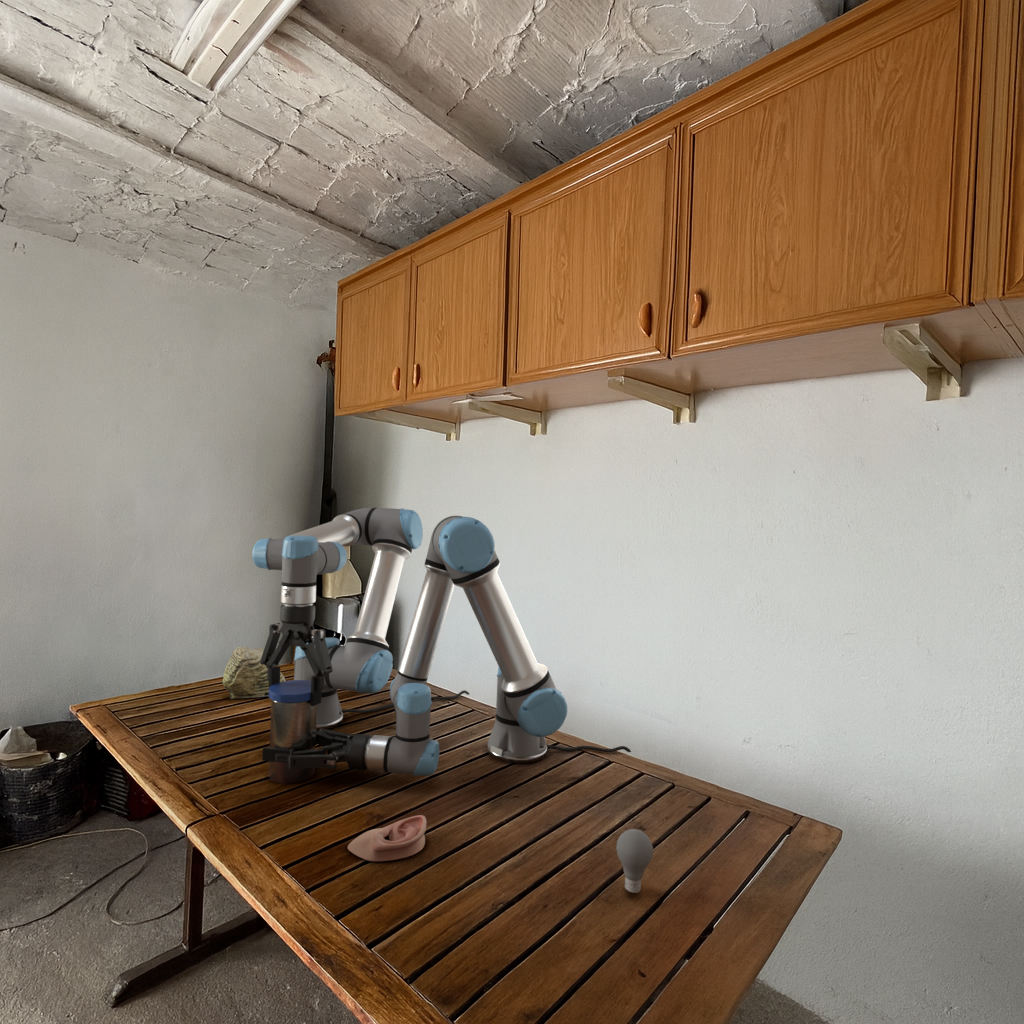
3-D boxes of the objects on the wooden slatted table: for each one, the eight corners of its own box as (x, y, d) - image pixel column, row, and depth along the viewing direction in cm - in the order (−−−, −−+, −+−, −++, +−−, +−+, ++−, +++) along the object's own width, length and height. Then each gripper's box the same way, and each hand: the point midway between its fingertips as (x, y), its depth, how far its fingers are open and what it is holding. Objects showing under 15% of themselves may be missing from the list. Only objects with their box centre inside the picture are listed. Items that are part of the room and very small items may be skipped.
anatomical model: (340, 834, 112) (368, 804, 123) (339, 856, 112) (367, 824, 123) (411, 845, 109) (433, 813, 120) (410, 868, 109) (432, 834, 120)
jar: (260, 773, 143) (263, 689, 143) (299, 760, 151) (302, 680, 151) (283, 787, 137) (287, 699, 137) (323, 773, 145) (326, 690, 144)
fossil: (218, 695, 195) (220, 647, 195) (278, 685, 208) (279, 640, 207) (228, 703, 189) (230, 653, 188) (289, 692, 201) (290, 645, 201)
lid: (276, 705, 136) (276, 697, 136) (262, 691, 145) (262, 683, 145) (327, 698, 142) (327, 690, 142) (311, 685, 152) (311, 677, 152)
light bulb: (610, 879, 108) (613, 822, 108) (644, 879, 109) (647, 822, 109) (619, 902, 102) (622, 840, 102) (655, 901, 103) (658, 840, 103)
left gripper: (245, 601, 144) (241, 696, 145) (330, 611, 136) (326, 713, 136) (269, 596, 151) (265, 688, 152) (351, 606, 143) (347, 703, 143)
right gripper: (351, 792, 131) (248, 782, 133) (384, 749, 154) (295, 742, 156) (352, 756, 131) (250, 747, 133) (385, 719, 153) (296, 712, 156)
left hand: (294, 700), depth 144 cm, fingers closed on lid, 11 cm apart
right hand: (274, 744), depth 144 cm, fingers closed on jar, 10 cm apart
